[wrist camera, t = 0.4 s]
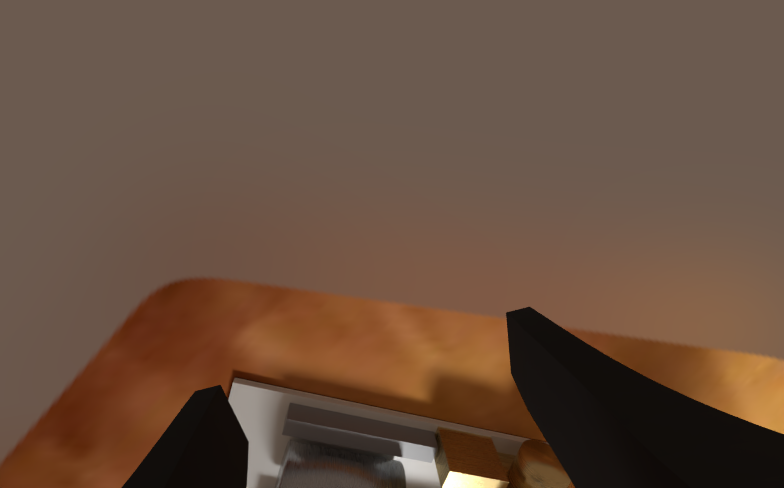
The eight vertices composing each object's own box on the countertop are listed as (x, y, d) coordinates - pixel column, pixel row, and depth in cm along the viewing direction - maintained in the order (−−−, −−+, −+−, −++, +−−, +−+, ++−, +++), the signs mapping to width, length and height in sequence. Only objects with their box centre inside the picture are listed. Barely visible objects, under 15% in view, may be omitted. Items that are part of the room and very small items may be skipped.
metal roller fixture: (508, 541, 28) (517, 567, 27) (204, 494, 25) (195, 520, 23) (561, 445, 26) (574, 467, 24) (234, 377, 22) (226, 398, 21)
